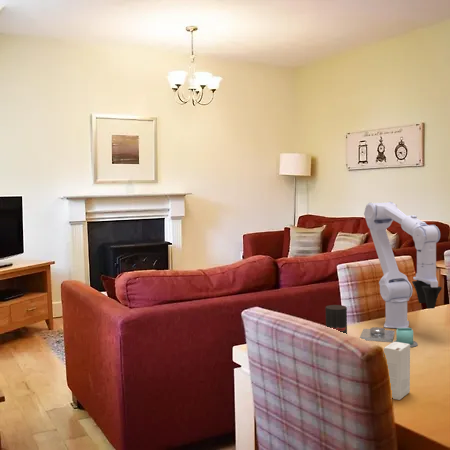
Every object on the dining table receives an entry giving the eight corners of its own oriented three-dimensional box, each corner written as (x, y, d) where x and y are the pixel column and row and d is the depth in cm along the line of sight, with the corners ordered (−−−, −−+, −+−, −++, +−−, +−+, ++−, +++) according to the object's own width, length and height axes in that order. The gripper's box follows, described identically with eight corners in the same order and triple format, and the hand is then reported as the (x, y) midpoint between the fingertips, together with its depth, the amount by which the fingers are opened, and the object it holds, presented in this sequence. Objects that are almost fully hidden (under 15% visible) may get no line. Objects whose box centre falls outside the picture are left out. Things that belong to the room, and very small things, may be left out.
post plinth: (363, 331, 185) (363, 324, 184) (394, 333, 181) (394, 326, 181) (359, 339, 175) (359, 332, 175) (392, 342, 172) (392, 334, 172)
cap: (410, 340, 172) (410, 325, 171) (415, 345, 167) (415, 330, 166) (394, 340, 172) (394, 326, 172) (398, 345, 167) (398, 330, 167)
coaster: (394, 340, 174) (394, 338, 174) (417, 341, 171) (417, 340, 171) (393, 346, 167) (393, 345, 167) (417, 348, 165) (417, 347, 165)
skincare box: (393, 388, 134) (392, 340, 133) (411, 393, 131) (410, 343, 130) (382, 396, 129) (382, 346, 128) (400, 401, 127) (400, 350, 126)
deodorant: (347, 362, 155) (346, 309, 153) (326, 361, 156) (325, 309, 155) (347, 355, 160) (346, 305, 159) (326, 354, 162) (325, 304, 160)
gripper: (406, 260, 181) (406, 300, 182) (421, 267, 167) (421, 311, 168) (427, 259, 181) (428, 300, 182) (444, 266, 166) (444, 310, 167)
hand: (426, 305), depth 175 cm, fingers open, 7 cm apart
